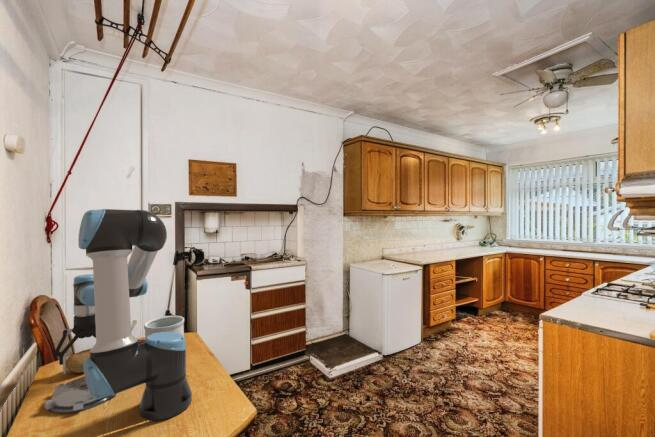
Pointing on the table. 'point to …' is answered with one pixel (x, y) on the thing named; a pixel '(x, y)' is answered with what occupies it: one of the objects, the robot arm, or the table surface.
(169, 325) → the utensil holder
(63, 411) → the base plate
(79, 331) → the robot arm
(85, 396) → the sprocket
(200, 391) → the table surface
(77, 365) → the potato
